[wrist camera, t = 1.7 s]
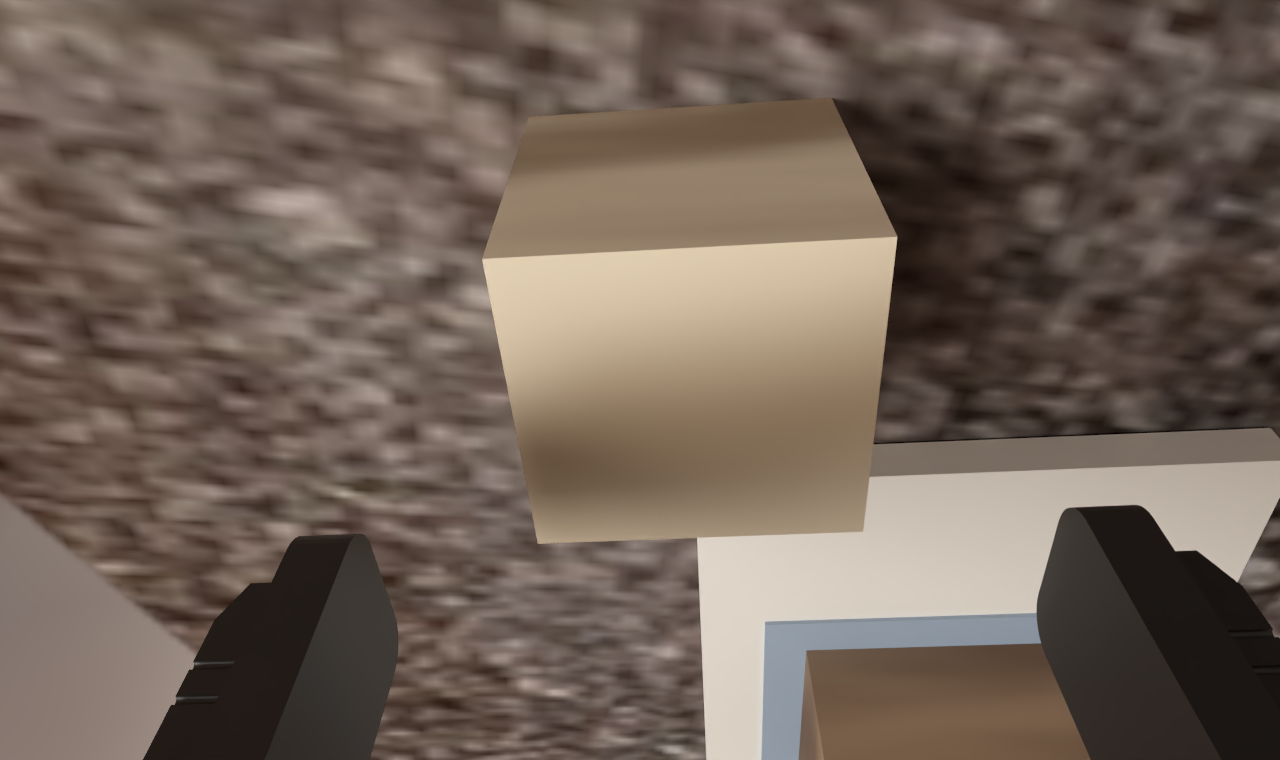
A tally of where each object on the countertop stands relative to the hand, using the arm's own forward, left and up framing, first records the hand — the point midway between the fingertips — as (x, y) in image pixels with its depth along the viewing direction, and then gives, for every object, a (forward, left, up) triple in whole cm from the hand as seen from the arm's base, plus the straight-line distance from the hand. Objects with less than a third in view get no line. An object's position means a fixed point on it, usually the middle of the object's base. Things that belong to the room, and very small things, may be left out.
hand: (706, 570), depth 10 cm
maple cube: (0, 0, -7) cm, 7 cm away
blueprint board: (+13, +6, -7) cm, 16 cm away
